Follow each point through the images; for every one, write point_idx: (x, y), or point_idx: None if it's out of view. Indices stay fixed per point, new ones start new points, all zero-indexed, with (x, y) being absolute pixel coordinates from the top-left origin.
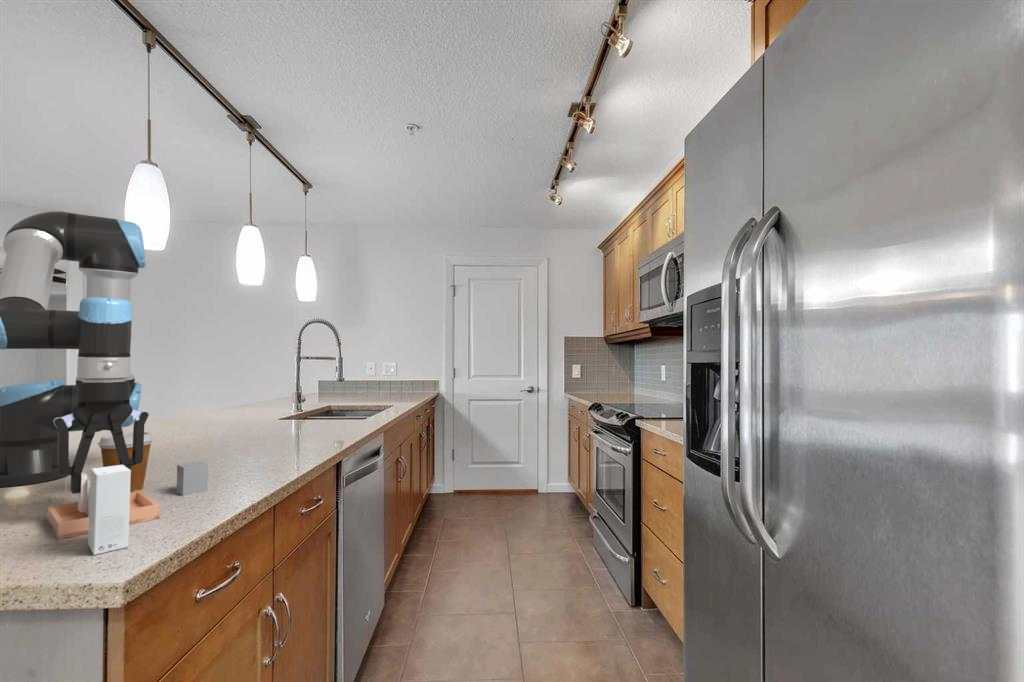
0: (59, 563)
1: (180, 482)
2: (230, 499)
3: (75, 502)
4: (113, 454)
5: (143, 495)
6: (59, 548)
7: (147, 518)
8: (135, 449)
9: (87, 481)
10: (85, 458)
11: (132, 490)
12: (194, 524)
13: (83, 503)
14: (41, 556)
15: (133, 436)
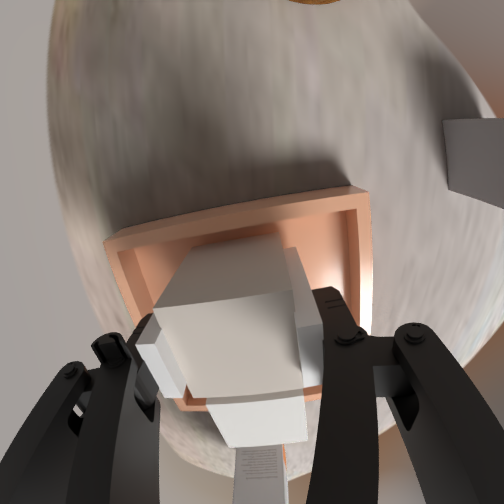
0: (214, 451)
1: (472, 164)
2: (484, 301)
3: (164, 234)
4: None
5: (364, 280)
6: (200, 418)
7: None
8: (408, 446)
9: (193, 394)
10: (155, 460)
11: (327, 2)
12: (379, 414)
13: None
14: (186, 428)
15: (462, 487)
